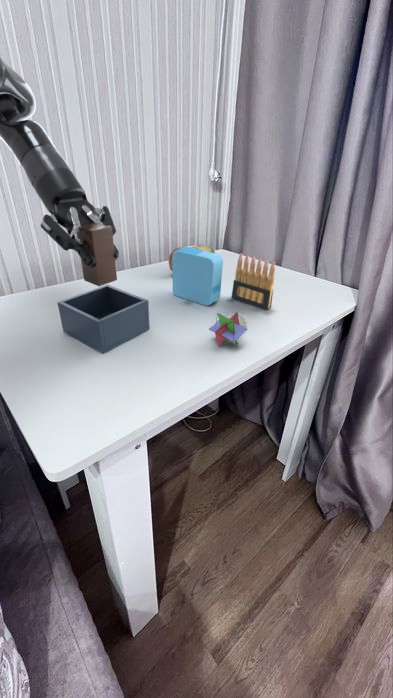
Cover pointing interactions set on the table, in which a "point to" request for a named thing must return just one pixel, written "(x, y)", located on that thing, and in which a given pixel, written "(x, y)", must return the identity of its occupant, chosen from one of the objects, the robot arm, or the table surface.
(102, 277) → the block
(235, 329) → the geometric puzzle
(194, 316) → the table surface
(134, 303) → the bin
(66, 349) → the table surface
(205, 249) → the tin
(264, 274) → the ammunition clip
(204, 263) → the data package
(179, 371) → the table surface
